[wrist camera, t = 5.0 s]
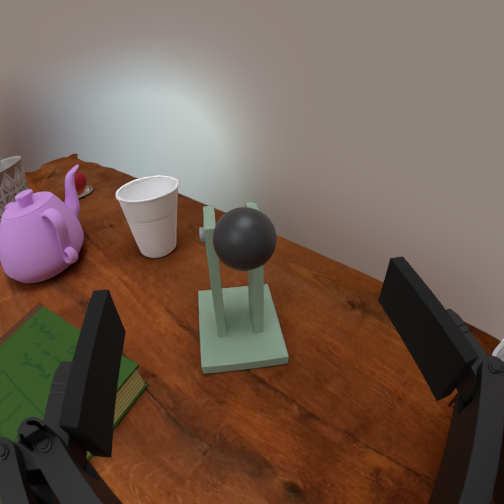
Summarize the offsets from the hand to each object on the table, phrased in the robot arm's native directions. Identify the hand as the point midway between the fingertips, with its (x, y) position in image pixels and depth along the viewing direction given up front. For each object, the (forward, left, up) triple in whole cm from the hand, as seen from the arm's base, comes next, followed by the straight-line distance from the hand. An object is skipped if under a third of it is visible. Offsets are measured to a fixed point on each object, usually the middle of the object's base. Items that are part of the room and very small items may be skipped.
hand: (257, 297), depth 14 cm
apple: (+23, -71, -18) cm, 77 cm away
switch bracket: (-3, -14, -18) cm, 23 cm away
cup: (+4, -35, -18) cm, 40 cm away
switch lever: (-2, -8, -4) cm, 9 cm away
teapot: (+24, -41, -18) cm, 51 cm away
